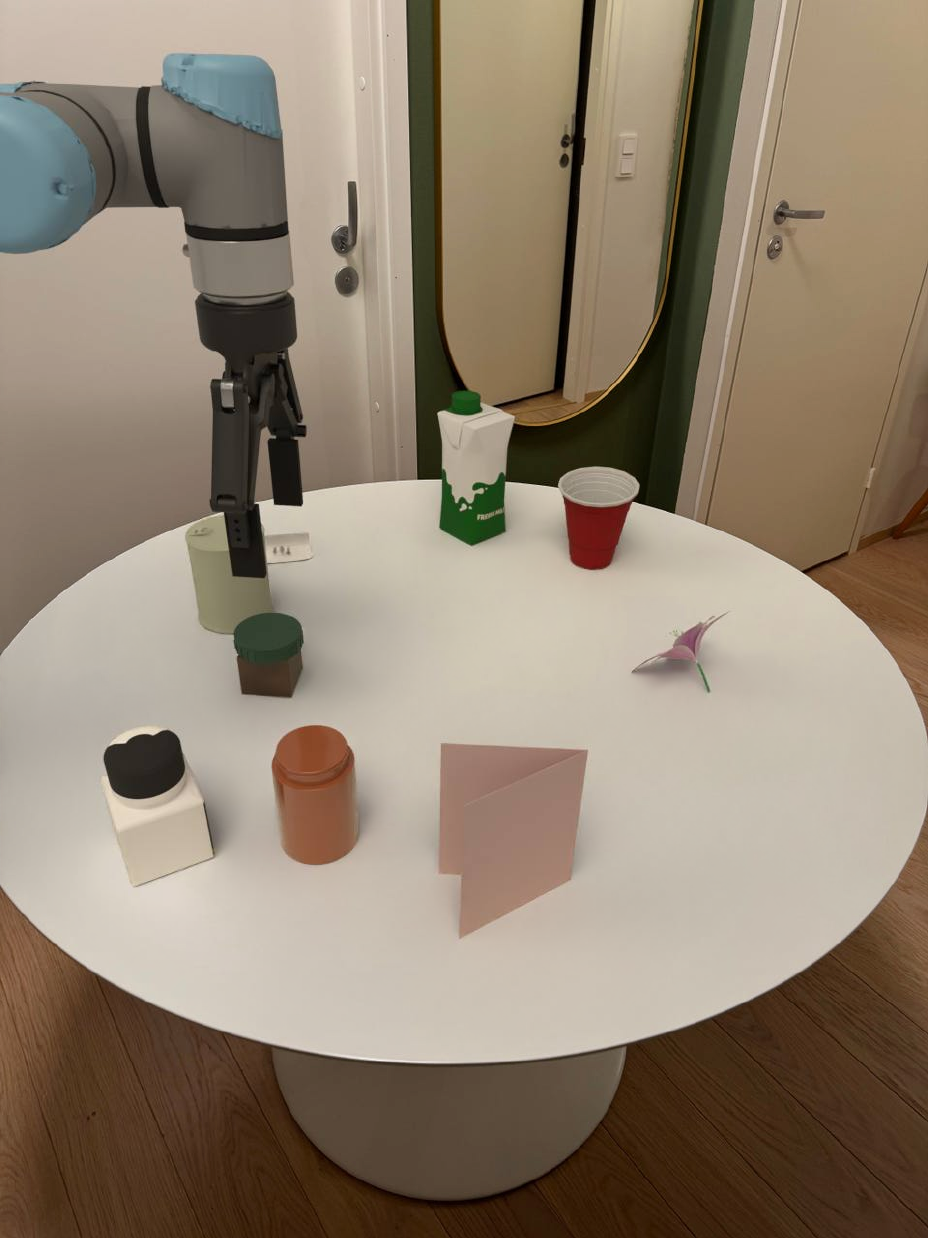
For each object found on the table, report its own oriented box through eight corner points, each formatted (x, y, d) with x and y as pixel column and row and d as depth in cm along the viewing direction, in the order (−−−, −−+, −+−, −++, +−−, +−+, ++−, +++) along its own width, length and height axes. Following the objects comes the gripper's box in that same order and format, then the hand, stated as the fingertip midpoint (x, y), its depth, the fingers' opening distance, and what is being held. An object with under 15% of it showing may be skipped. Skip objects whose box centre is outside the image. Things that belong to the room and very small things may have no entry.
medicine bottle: (216, 858, 77) (196, 756, 70) (132, 889, 74) (103, 786, 67) (193, 806, 82) (173, 706, 75) (114, 833, 79) (86, 732, 72)
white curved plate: (312, 560, 121) (310, 541, 119) (253, 565, 119) (250, 546, 118) (310, 547, 124) (308, 528, 122) (252, 552, 122) (250, 533, 121)
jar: (272, 862, 77) (259, 773, 71) (291, 804, 82) (281, 718, 77) (351, 868, 76) (345, 779, 70) (364, 809, 82) (360, 723, 76)
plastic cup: (535, 557, 123) (541, 479, 117) (585, 534, 130) (594, 459, 123) (593, 588, 117) (603, 507, 110) (644, 562, 123) (656, 484, 116)
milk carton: (473, 511, 135) (477, 384, 124) (514, 532, 130) (523, 401, 118) (430, 528, 130) (430, 397, 119) (471, 550, 124) (476, 416, 113)
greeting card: (569, 871, 77) (587, 742, 68) (575, 944, 70) (595, 812, 62) (439, 865, 77) (441, 735, 69) (433, 937, 71) (435, 804, 62)
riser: (241, 694, 96) (236, 657, 93) (255, 664, 101) (250, 628, 98) (291, 698, 96) (287, 661, 93) (303, 667, 100) (299, 631, 98)
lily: (721, 657, 106) (697, 585, 104) (773, 680, 95) (747, 601, 92) (634, 698, 105) (607, 627, 103) (676, 727, 93) (647, 648, 91)
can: (200, 596, 112) (187, 512, 106) (273, 591, 114) (264, 508, 107) (195, 637, 105) (180, 549, 98) (273, 631, 106) (264, 544, 100)
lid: (310, 627, 98) (309, 614, 97) (294, 666, 92) (293, 652, 91) (245, 623, 99) (244, 610, 98) (225, 661, 93) (223, 648, 92)
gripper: (242, 257, 78) (265, 477, 89) (133, 334, 57) (182, 608, 69) (325, 261, 77) (338, 481, 89) (247, 340, 57) (276, 614, 68)
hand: (270, 537), depth 79 cm, fingers open, 13 cm apart
